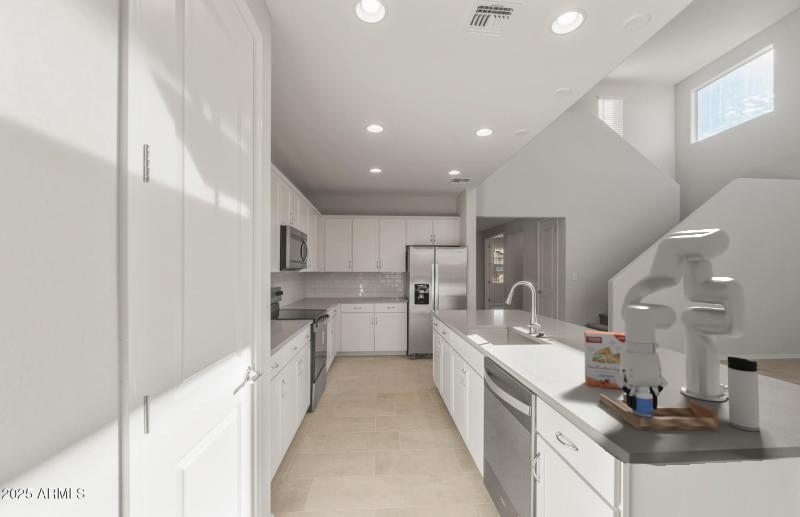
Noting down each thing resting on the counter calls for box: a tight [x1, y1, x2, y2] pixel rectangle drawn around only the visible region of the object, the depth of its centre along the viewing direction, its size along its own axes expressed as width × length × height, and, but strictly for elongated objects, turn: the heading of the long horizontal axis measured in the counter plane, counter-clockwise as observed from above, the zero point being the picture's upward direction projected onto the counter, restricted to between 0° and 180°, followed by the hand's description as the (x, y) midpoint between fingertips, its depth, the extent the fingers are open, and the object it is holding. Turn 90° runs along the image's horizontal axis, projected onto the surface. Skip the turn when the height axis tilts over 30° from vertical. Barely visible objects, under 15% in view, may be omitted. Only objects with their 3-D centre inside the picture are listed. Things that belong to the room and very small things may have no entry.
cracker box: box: [583, 330, 627, 390], centre depth 138 cm, size 14×6×21 cm, turn 68°
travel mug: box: [727, 356, 760, 432], centre depth 102 cm, size 6×7×20 cm
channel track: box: [599, 393, 719, 431], centre depth 110 cm, size 22×20×5 cm
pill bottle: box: [632, 386, 653, 418], centre depth 106 cm, size 6×5×10 cm
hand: (642, 407), depth 106 cm, fingers closed on pill bottle, 5 cm apart
